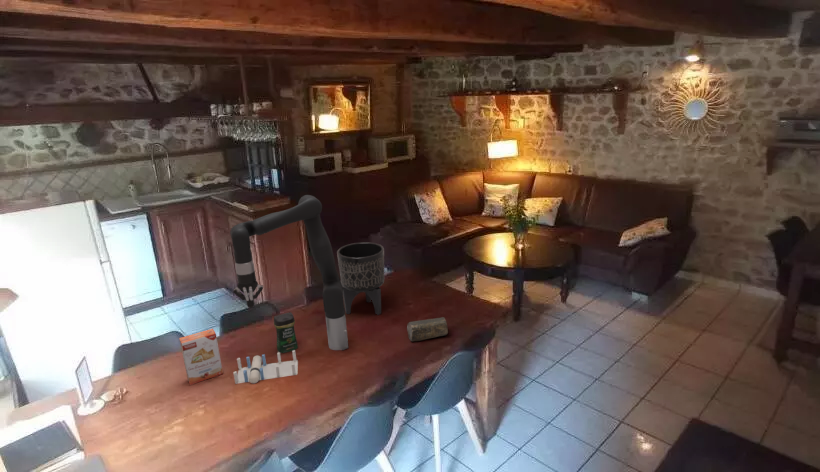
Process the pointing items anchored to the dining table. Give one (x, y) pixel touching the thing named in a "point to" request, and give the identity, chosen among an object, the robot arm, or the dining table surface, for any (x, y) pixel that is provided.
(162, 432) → the dining table surface
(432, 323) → the stone block
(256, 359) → the banded cream tube
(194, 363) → the cracker box
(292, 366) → the white pegged rack
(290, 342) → the coffee jar
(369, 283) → the planter
